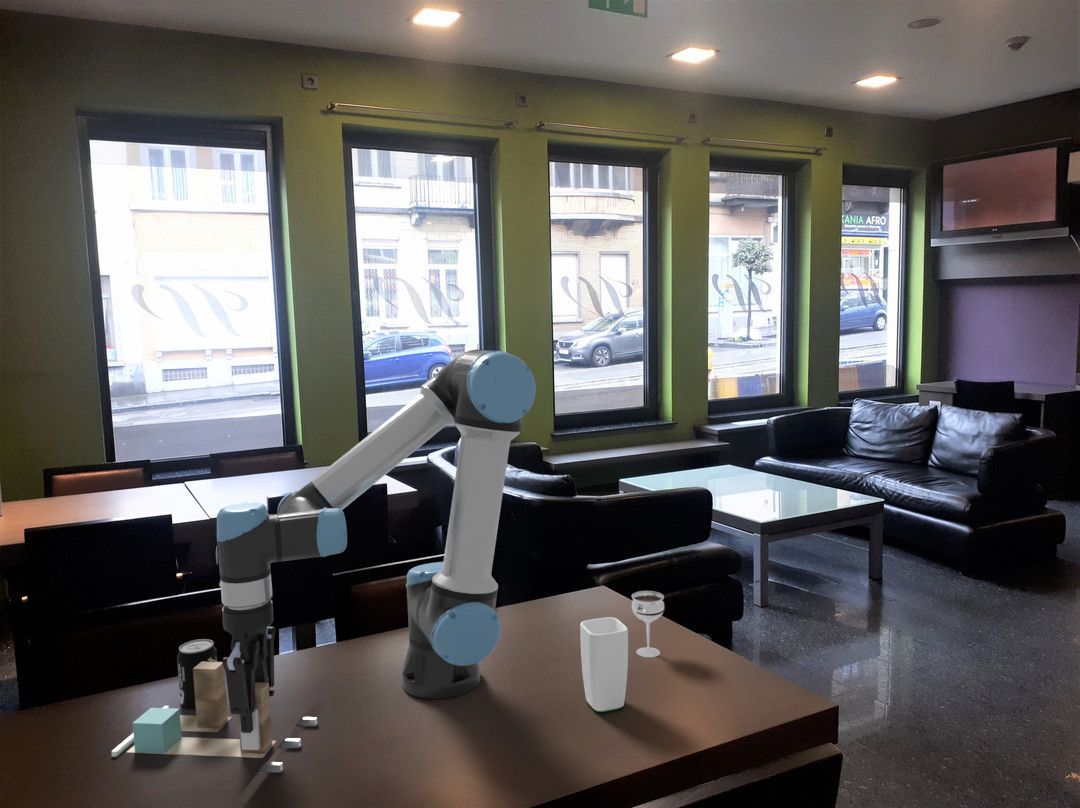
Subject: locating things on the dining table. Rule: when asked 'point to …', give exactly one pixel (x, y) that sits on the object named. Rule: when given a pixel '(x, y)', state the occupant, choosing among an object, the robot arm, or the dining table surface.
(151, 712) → the cube
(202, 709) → the strip short
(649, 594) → the wineglass
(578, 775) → the dining table surface
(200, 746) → the strip long
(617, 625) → the cup
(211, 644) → the beverage can
